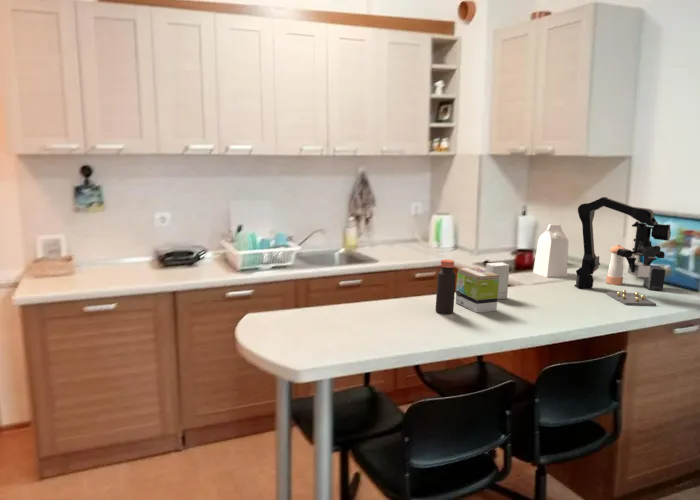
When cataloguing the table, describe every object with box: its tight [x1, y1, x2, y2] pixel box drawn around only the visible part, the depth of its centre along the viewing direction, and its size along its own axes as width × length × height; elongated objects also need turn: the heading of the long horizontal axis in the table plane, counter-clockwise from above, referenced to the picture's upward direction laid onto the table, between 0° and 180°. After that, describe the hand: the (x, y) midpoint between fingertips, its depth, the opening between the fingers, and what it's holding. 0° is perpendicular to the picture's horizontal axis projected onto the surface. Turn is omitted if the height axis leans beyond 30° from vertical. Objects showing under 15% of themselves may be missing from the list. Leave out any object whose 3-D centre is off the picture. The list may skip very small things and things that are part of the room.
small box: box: [642, 264, 666, 292], centre depth 282 cm, size 11×6×10 cm, turn 168°
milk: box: [532, 223, 569, 278], centre depth 304 cm, size 12×12×26 cm
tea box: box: [455, 266, 499, 313], centre depth 235 cm, size 15×10×15 cm
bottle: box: [435, 259, 457, 315], centre depth 226 cm, size 7×7×20 cm
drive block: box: [627, 261, 650, 278], centre depth 262 cm, size 5×9×5 cm, turn 1°
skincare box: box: [485, 261, 510, 300], centre depth 251 cm, size 8×6×15 cm
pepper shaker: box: [605, 244, 626, 286], centre depth 289 cm, size 7×7×19 cm
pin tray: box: [606, 289, 657, 307], centre depth 257 cm, size 13×18×3 cm
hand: (638, 272), depth 262 cm, fingers closed on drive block, 5 cm apart
